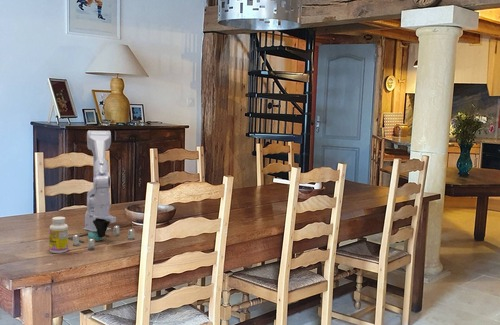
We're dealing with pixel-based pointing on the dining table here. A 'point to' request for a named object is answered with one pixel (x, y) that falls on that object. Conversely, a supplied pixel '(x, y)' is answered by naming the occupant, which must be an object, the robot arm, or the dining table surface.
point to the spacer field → (92, 241)
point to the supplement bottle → (58, 235)
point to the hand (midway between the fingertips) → (101, 237)
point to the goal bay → (81, 236)
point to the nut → (94, 235)
